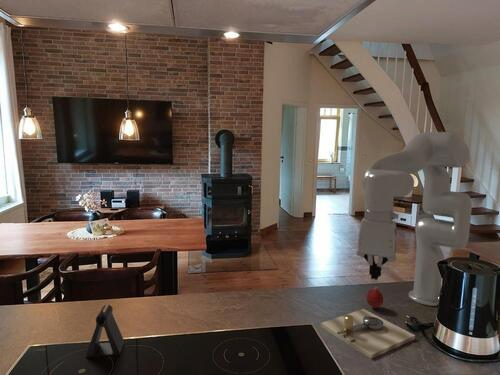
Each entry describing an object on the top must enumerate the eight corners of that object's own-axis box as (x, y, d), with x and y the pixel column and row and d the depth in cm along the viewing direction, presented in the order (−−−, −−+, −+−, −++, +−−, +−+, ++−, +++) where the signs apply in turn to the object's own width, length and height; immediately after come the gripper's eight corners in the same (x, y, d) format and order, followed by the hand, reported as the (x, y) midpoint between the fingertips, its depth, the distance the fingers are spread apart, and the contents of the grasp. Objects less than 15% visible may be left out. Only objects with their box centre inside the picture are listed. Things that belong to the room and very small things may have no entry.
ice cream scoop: (373, 319, 116) (374, 305, 115) (387, 328, 110) (388, 313, 110) (333, 329, 109) (334, 314, 108) (346, 339, 104) (347, 323, 103)
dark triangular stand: (124, 342, 103) (123, 304, 101) (119, 355, 97) (118, 314, 95) (92, 344, 102) (90, 305, 100) (85, 357, 96) (83, 315, 94)
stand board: (363, 312, 124) (363, 308, 124) (414, 339, 107) (415, 334, 107) (320, 326, 114) (320, 322, 113) (370, 359, 97) (371, 354, 96)
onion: (364, 309, 126) (365, 288, 125) (367, 303, 131) (368, 282, 130) (381, 313, 123) (383, 291, 122) (383, 306, 128) (385, 285, 127)
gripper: (408, 216, 99) (404, 278, 101) (355, 211, 106) (352, 269, 109) (405, 221, 92) (400, 288, 95) (348, 215, 100) (345, 277, 102)
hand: (374, 277), depth 102 cm, fingers closed
